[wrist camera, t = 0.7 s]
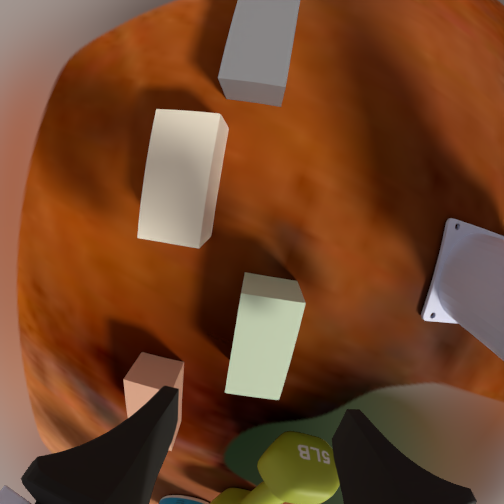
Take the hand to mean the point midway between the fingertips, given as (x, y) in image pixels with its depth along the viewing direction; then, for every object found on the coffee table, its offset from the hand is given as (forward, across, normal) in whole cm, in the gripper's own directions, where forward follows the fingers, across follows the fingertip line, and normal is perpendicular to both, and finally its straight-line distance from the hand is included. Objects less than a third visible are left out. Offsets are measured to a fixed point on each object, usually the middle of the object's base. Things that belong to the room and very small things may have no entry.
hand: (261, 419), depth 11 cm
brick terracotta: (+10, +7, +8) cm, 14 cm away
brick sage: (+10, 0, 0) cm, 10 cm away
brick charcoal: (+10, +3, -18) cm, 21 cm away
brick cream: (+10, +6, -9) cm, 14 cm away
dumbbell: (+10, -4, +18) cm, 21 cm away
